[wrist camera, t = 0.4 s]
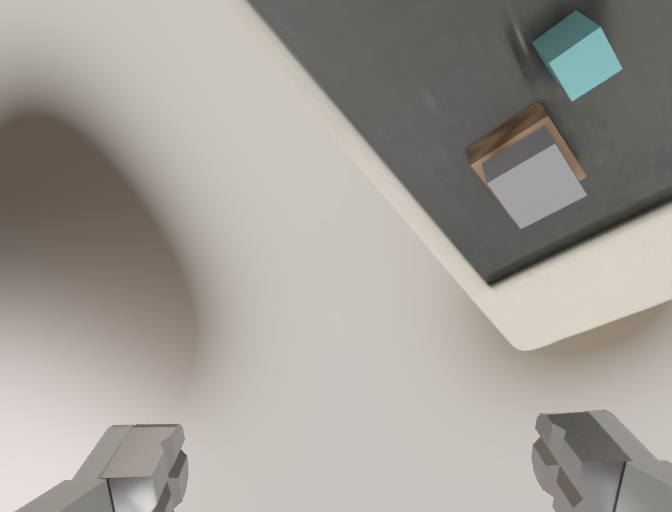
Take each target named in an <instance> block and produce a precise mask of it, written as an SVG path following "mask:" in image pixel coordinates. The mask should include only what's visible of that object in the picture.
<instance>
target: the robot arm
mask: <svg viewBox="0 0 672 512" xmlns="http://www.w3.org/2000/svg"><path fill="white" fill-rule="evenodd" d="M535 429H536V430H537V432H538V433H539V435H540V436H541V437H540V438H539V439H538V440H537V441H536V442H535V443H534V444H533V449H532V463H533V469H534V473H535V475H536V478H537V480H538V482H539V484H540V486H541V487H542V489H543V490H544V491H546V492H547V493H549V494H550V495H552V496H553V497H554V501H553V508H554V510H555V511H556V512H672V463H670V462H668V461H658V460H657V459H656V458H655V457H654V456H653V455H652V454H651V453H650V451H648V449H647V448H646V447H645V446H644V445H643V444H642V443H641V442H640V441H639V440H638V439H637V438H636V437H635V436H634V435H633V434H632V433H631V432H630V431H629V430H628V429H627V428H626V427H625V426H624V425H623V424H622V423H621V422H620V421H619V420H618V419H617V418H616V417H615V416H614V415H613V414H612V413H611V412H609V411H606V410H597V411H583V412H568V413H541V414H539V416H538V418H537V421H536V427H535ZM184 440H185V439H184V433H183V428H182V426H181V425H180V424H136V425H113V426H111V427H109V428H108V429H107V430H106V432H105V433H104V435H103V436H102V438H101V439H100V440H99V442H98V443H97V445H96V446H95V448H94V449H93V450H92V452H91V453H90V455H89V456H88V458H87V459H86V460H85V462H84V463H83V465H82V466H81V468H80V469H79V470H78V472H77V473H76V475H75V476H74V478H73V479H72V480H64V481H63V482H61V483H59V484H58V485H57V486H55V487H53V488H52V489H50V490H48V491H47V492H45V493H44V494H42V495H40V496H39V497H37V498H36V499H34V500H33V501H31V502H29V503H28V504H26V505H25V506H23V507H21V508H20V509H18V510H17V511H15V512H174V508H175V507H176V506H177V505H178V504H179V503H181V502H182V500H183V497H184V494H185V491H186V485H187V480H188V460H187V455H186V454H185V453H184V452H183V451H182V450H181V447H182V445H183V442H184Z"/></svg>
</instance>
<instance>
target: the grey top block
mask: <svg viewBox="0 0 672 512" xmlns="http://www.w3.org/2000/svg"><path fill="white" fill-rule="evenodd" d="M482 167H483V171H484V174H485V178H486V182H487V184H488V186H489V187H490V188H491V190H492V191H493V192H494V194H495V195H496V197H497V198H498V199H499V201H500V202H501V203H502V205H503V206H504V207H505V209H506V210H507V211H508V213H509V214H510V216H511V217H512V218H513V220H514V221H515V222H516V224H517V225H518V226H519V228H520V229H522V228H524V227H526V226H528V225H530V224H532V223H534V222H536V221H538V220H540V219H542V218H544V217H545V216H547V215H549V214H551V213H553V212H555V211H557V210H559V209H561V208H563V207H565V206H567V205H569V204H571V203H573V202H575V201H577V200H579V199H581V198H583V197H585V196H587V194H586V193H585V191H584V189H583V188H582V186H581V184H580V182H579V181H578V179H577V177H576V176H575V174H574V172H573V171H572V169H571V167H570V166H569V164H568V163H567V161H566V159H565V158H564V156H563V154H562V153H561V151H560V150H559V148H558V146H557V145H556V143H555V141H554V140H553V138H552V137H551V135H550V133H549V132H548V130H547V128H546V127H545V125H543V126H542V127H540V128H539V129H537V130H535V131H534V132H532V133H530V134H529V135H527V136H525V137H524V138H522V139H521V140H519V141H517V142H516V143H514V144H512V145H511V146H509V147H507V148H506V149H504V150H503V151H501V152H499V153H498V154H496V155H494V156H493V157H491V158H490V159H488V160H486V161H485V162H483V163H482Z"/></svg>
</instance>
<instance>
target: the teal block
mask: <svg viewBox="0 0 672 512" xmlns="http://www.w3.org/2000/svg"><path fill="white" fill-rule="evenodd" d="M532 44H533V45H534V47H535V49H536V50H537V52H538V54H539V55H540V57H541V58H542V60H543V62H544V63H545V65H546V67H547V68H548V70H549V72H550V73H551V75H552V77H553V78H554V79H555V81H556V82H557V83H558V85H559V86H560V87H561V88H562V90H563V91H564V92H565V94H566V95H567V96H568V97H569V99H570V100H571V101H574V100H575V99H577V98H578V97H580V96H581V95H583V94H585V93H586V92H588V91H589V90H591V89H592V88H594V87H596V86H597V85H599V84H600V83H602V82H603V81H605V80H606V79H608V78H610V77H611V76H613V75H614V74H616V73H617V72H619V71H621V70H622V67H621V65H620V63H619V61H618V59H617V57H616V55H615V54H614V52H613V50H612V48H611V46H610V44H609V42H608V40H607V38H606V36H605V34H604V32H603V30H602V29H601V27H600V26H599V25H597V24H596V23H594V22H593V21H591V20H590V19H589V18H587V17H586V16H584V15H583V14H581V13H580V12H578V11H577V10H575V11H574V12H573V13H571V14H570V15H569V16H567V17H566V18H565V19H563V20H562V21H561V22H559V23H558V24H557V25H555V26H554V27H552V28H551V29H550V30H548V31H547V32H546V33H544V34H543V35H542V36H540V37H539V38H538V39H536V40H535V41H534V42H532Z"/></svg>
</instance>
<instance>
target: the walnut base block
mask: <svg viewBox="0 0 672 512" xmlns="http://www.w3.org/2000/svg"><path fill="white" fill-rule="evenodd" d="M543 125H545V127H546V128H547V130H548V132H549V133H550V135H551V137H552V138H553V140H554V141H555V143H556V145H557V146H558V148H559V150H560V151H561V153H562V154H563V156H564V158H565V159H566V161H567V163H568V164H569V166H570V167H571V169H572V171H573V172H574V174H575V176H576V177H577V179H578V181H580V180H582V179H584V178H586V177H587V176H586V174H585V173H584V171H583V169H582V168H581V166H580V165H579V163H578V161H577V160H576V158H575V157H574V155H573V154H572V152H571V150H570V149H569V147H568V146H567V144H566V143H565V141H564V139H563V138H562V136H561V135H560V133H559V132H558V130H557V129H556V127H555V125H554V124H553V122H552V121H551V119H550V118H549V116H548V114H547V113H546V111H545V110H544V108H543V107H542V105H541V104H540V102H539V101H538V102H536V103H535V104H533V105H532V106H530V107H529V108H527V109H526V110H524V111H523V112H521V113H520V114H518V115H517V116H515V117H514V118H512V119H511V120H509V121H508V122H506V123H505V124H503V125H502V126H500V127H499V128H497V129H496V130H494V131H493V132H491V133H490V134H488V135H487V136H485V137H484V138H482V139H481V140H479V141H478V142H476V143H475V144H473V145H472V146H470V147H469V148H467V152H468V157H469V161H470V165H471V167H472V168H473V169H474V171H475V172H476V173H477V174H478V176H479V177H480V178H481V180H482V181H483V182H484V183H485V185H486V186H487V187H488V189H489V190H490V191H491V192H492V194H493V195H494V196H495V198H496V199H497V200H498V201H499V199H498V198H497V197H496V195H495V194H494V192H493V191H492V190H491V188H490V187H489V186H488V184H487V182H486V178H485V174H484V171H483V167H482V163H483V162H485V161H486V160H488V159H490V158H491V157H493V156H494V155H496V154H498V153H499V152H501V151H503V150H504V149H506V148H507V147H509V146H511V145H512V144H514V143H516V142H517V141H519V140H521V139H522V138H524V137H525V136H527V135H529V134H530V133H532V132H534V131H535V130H537V129H539V128H540V127H542V126H543ZM499 203H500V204H501V205H502V203H501V202H500V201H499ZM502 207H503V208H504V209H505V207H504V206H503V205H502ZM505 210H506V209H505ZM506 212H507V213H508V211H507V210H506ZM508 214H509V213H508ZM509 216H510V214H509ZM510 217H511V216H510ZM511 218H512V217H511Z"/></svg>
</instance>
